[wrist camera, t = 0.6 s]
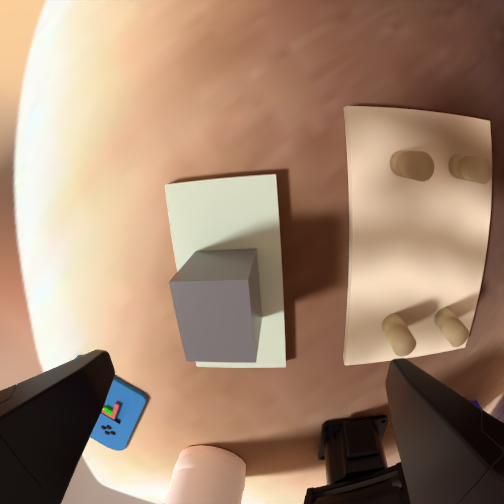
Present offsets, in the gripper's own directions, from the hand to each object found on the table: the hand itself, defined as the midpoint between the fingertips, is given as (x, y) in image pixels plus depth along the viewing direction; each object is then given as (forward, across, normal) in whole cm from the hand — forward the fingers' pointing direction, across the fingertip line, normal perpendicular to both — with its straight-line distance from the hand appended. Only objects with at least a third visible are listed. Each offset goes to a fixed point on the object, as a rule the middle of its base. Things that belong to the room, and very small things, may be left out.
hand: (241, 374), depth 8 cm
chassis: (+12, -11, 0) cm, 16 cm away
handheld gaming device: (+13, +19, +19) cm, 30 cm away
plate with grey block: (+13, +2, +2) cm, 13 cm away
